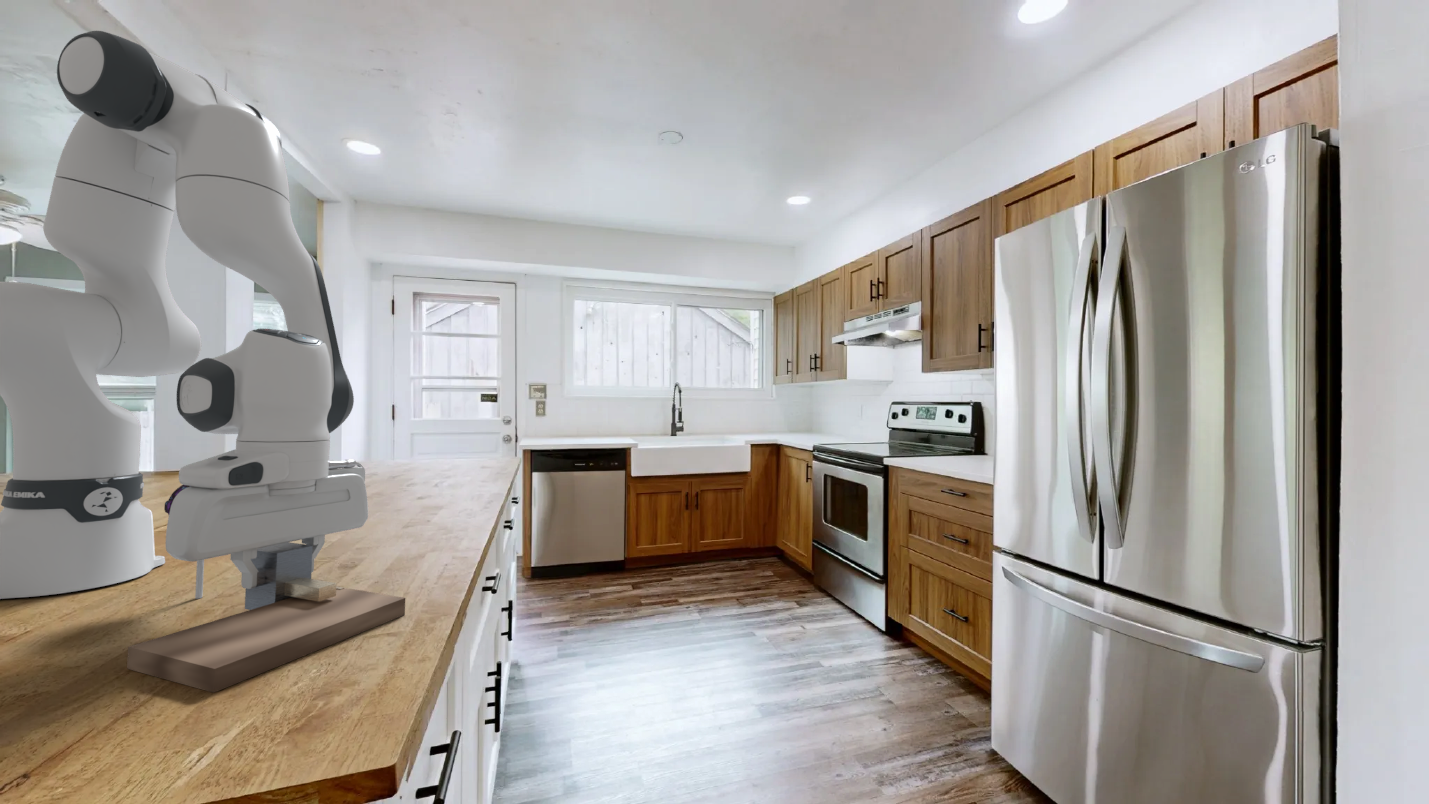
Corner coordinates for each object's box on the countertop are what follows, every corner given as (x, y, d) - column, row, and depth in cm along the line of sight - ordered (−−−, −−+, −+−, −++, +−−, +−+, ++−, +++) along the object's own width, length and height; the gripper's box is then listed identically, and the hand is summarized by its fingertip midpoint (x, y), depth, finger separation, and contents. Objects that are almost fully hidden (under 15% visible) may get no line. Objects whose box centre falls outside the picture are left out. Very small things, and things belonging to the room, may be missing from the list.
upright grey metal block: (244, 608, 63) (247, 549, 63) (281, 598, 67) (283, 541, 67) (308, 621, 60) (311, 558, 60) (343, 609, 64) (345, 550, 64)
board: (127, 668, 49) (128, 645, 49) (330, 601, 67) (331, 584, 68) (213, 692, 46) (214, 667, 46) (404, 614, 64) (405, 596, 64)
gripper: (347, 457, 75) (343, 556, 75) (159, 470, 56) (152, 604, 56) (381, 459, 73) (377, 561, 73) (198, 474, 54) (191, 612, 54)
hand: (279, 580), depth 64 cm, fingers closed on upright grey metal block, 4 cm apart
